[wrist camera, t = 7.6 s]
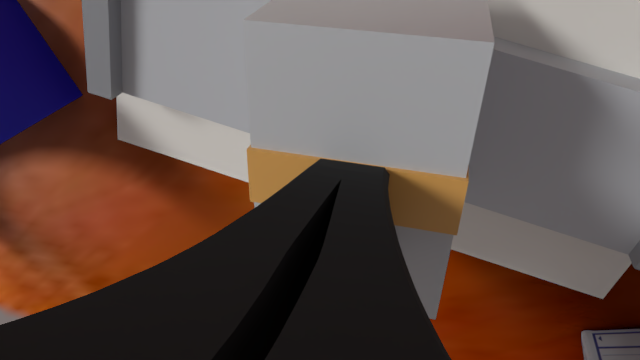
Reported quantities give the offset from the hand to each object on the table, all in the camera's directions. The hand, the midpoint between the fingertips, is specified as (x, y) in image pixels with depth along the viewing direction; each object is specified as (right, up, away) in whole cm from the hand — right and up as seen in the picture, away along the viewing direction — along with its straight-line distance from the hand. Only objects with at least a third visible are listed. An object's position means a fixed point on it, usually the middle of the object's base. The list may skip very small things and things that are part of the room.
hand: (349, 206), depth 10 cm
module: (+1, +3, +4) cm, 5 cm away
